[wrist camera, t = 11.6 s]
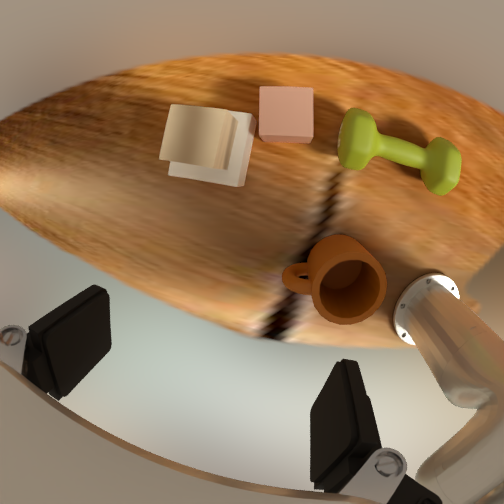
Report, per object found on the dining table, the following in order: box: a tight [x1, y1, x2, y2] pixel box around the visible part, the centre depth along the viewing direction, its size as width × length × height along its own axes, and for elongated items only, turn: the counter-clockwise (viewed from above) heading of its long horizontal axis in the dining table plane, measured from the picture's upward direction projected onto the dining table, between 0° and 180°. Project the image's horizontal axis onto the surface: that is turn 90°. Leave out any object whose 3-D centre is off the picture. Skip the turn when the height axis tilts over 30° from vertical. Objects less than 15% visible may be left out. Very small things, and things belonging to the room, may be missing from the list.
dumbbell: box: [337, 108, 461, 196], centre depth 28 cm, size 16×8×7 cm, turn 81°
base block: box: [168, 110, 257, 187], centre depth 33 cm, size 9×9×5 cm
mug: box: [282, 234, 387, 325], centre depth 33 cm, size 9×12×9 cm
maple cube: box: [159, 104, 238, 170], centre depth 27 cm, size 6×6×6 cm
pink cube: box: [259, 86, 313, 144], centre depth 30 cm, size 6×6×6 cm
